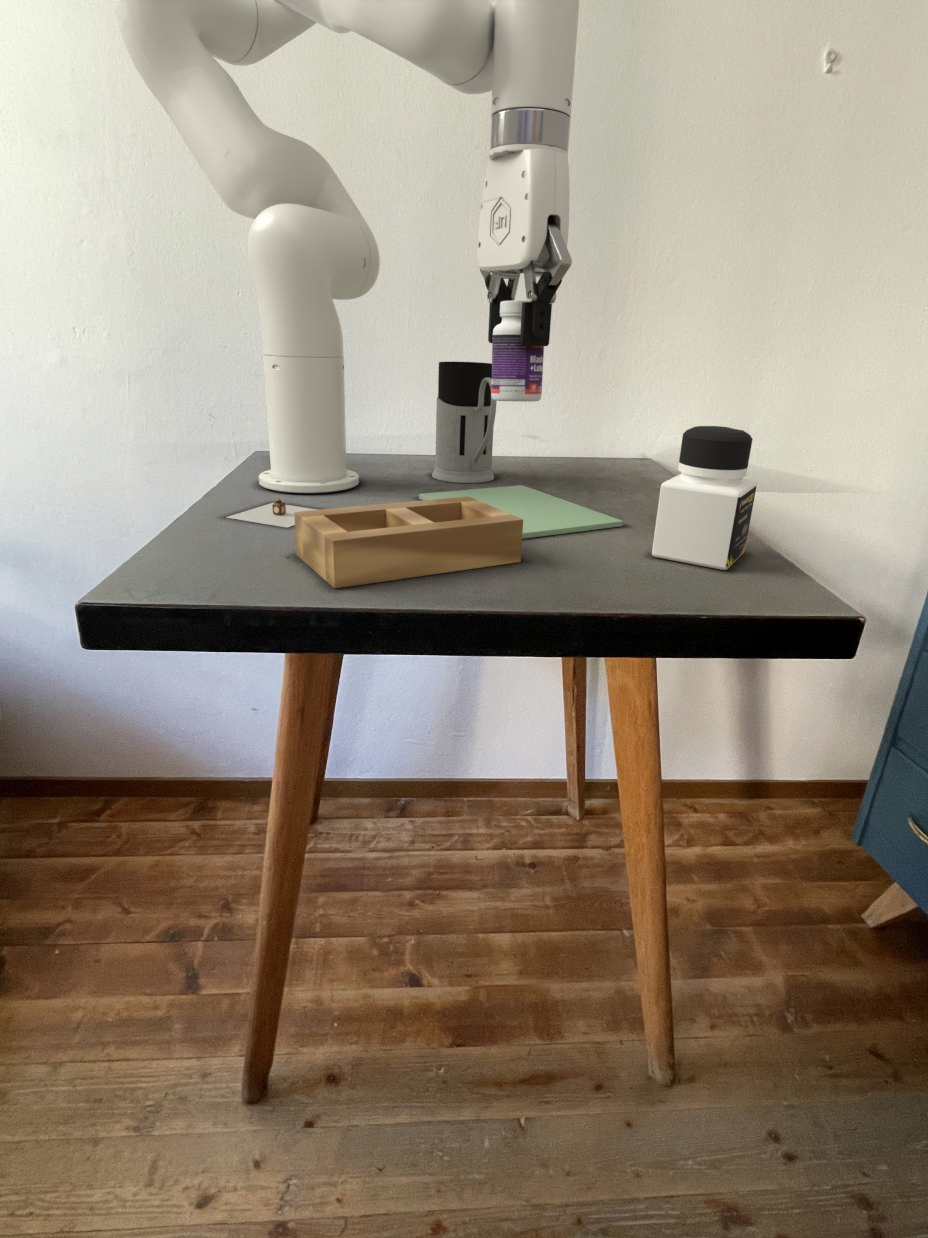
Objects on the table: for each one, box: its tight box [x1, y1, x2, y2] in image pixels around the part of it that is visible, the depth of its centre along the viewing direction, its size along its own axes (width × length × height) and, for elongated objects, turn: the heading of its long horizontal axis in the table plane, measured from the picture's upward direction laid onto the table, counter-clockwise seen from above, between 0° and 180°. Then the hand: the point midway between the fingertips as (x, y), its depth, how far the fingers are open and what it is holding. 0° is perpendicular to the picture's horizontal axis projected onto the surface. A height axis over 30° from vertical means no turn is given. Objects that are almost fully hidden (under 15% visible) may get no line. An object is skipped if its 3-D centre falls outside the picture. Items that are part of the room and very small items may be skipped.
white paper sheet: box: [225, 496, 318, 528], centre depth 80 cm, size 8×8×2 cm
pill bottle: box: [491, 300, 545, 403], centre depth 77 cm, size 5×5×10 cm
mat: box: [418, 484, 624, 540], centre depth 85 cm, size 20×15×1 cm
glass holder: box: [431, 361, 498, 484], centre depth 98 cm, size 9×14×15 cm, turn 21°
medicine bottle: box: [651, 425, 758, 571], centre depth 69 cm, size 7×7×12 cm
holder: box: [294, 496, 523, 589], centre depth 66 cm, size 10×18×4 cm, turn 119°
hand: (517, 342), depth 77 cm, fingers closed on pill bottle, 5 cm apart
